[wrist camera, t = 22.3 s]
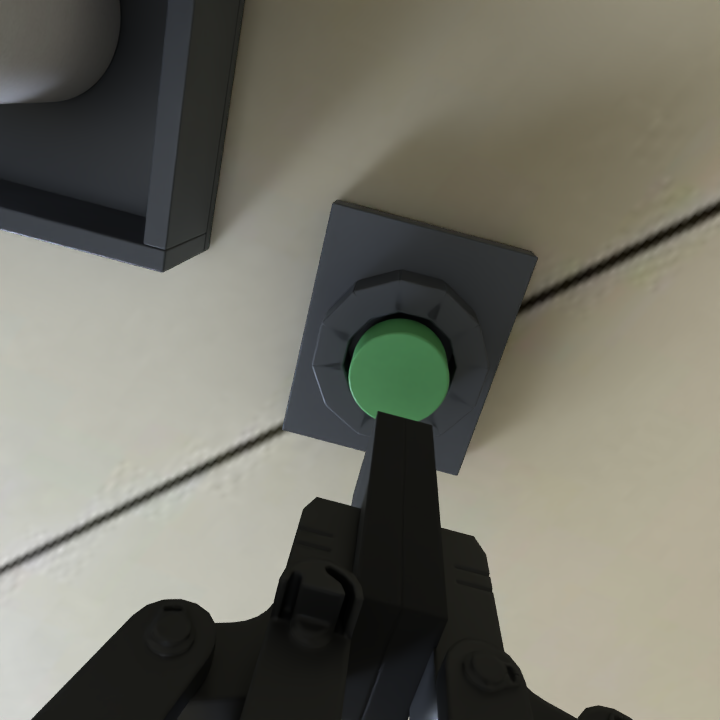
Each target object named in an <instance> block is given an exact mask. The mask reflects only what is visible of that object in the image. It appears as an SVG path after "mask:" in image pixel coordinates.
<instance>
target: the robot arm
mask: <svg viewBox="0 0 720 720" xmlns="http://www.w3.org/2000/svg"><path fill="white" fill-rule="evenodd" d="M489 574H490V573H489V568H488V562H487V557H486V554H485V552H484V551H483V549H482V548H481V546H480V545H479V543H478V542H477V540H476V539H475V537H474V536H471V535H467V534H463V533H459V532H455V531H451V530H448V529H444V528H441V524H440V512H439V500H438V487H437V475H436V463H435V450H434V438H433V426H432V425H430V424H426V423H422V422H418V421H415V420H411V419H407V418H403V417H399V416H396V415H392V414H388V413H384V412H380V411H377V415H376V418H375V422H374V425H373V429H372V432H371V435H370V439H369V442H368V446H367V449H366V453H365V456H364V460H363V463H362V466H361V470H360V473H359V477H358V480H357V484H356V487H355V490H354V494H353V499H352V505H351V506H349V505H345V504H342V503H338V502H334V501H330V500H326V499H322V498H319V497H316V498H315V499H314V500H313V501H312V502H311V503H309V504H308V505H307V506H306V507H305V508H304V509H303V512H302V515H301V518H300V522H299V525H298V529H297V532H296V535H295V539H294V542H293V545H292V549H291V552H290V556H289V559H288V562H287V566H286V569H285V570H284V572H283V573H282V575H281V577H280V579H279V583H278V587H277V591H276V595H275V599H274V603H273V604H272V605H271V607H270V608H269V609H268V610H267V611H265V612H264V613H262V614H261V615H259V616H258V617H255V618H252V619H249V620H247V621H240V622H231V623H214V621H213V619H212V617H211V616H210V614H209V613H208V612H207V611H206V610H204V609H203V608H202V607H200V606H199V605H198V604H196V603H192V602H189V601H186V600H182V599H166V600H161V601H158V602H155V603H152V604H149V605H146V606H145V607H143V608H142V609H141V610H139V611H138V612H137V613H135V614H134V615H133V616H132V617H131V618H130V619H129V620H128V621H127V622H126V623H125V624H124V625H123V626H122V627H121V628H120V629H119V630H118V631H117V632H116V633H115V634H114V635H113V636H112V637H111V638H110V639H109V640H108V641H107V642H106V643H105V644H104V645H103V646H102V647H101V648H100V649H99V650H98V652H97V653H96V654H95V655H94V656H93V657H92V658H91V659H90V660H89V661H88V662H87V663H86V664H85V665H84V666H83V667H82V668H81V669H80V670H79V671H78V672H77V673H76V674H75V675H74V676H73V677H72V678H71V679H70V680H69V681H68V682H67V683H66V684H65V685H64V686H63V687H62V689H61V690H60V691H59V692H58V693H57V694H56V695H55V696H54V697H53V698H52V699H51V700H50V701H49V702H48V703H47V704H46V705H45V706H44V707H43V708H42V709H41V710H40V711H39V712H38V713H37V714H36V715H35V716H34V717H33V718H32V719H31V720H408V717H409V720H632V719H631V718H630V717H628V716H626V715H624V714H622V713H620V712H619V711H617V710H615V709H612V708H608V707H603V706H599V705H598V706H593V707H589V708H586V709H585V710H584V711H583V712H582V713H581V714H580V716H579V717H578V719H577V718H575V717H573V716H571V715H570V714H568V713H566V712H564V711H562V710H561V709H559V708H557V707H555V706H553V705H552V704H550V703H548V702H546V701H545V700H543V699H542V698H540V697H539V696H537V695H536V694H534V693H533V692H532V691H531V690H529V689H528V688H527V686H526V682H525V680H524V677H523V675H522V673H521V670H520V668H519V667H518V666H517V665H516V663H515V662H514V661H513V660H512V658H511V657H510V656H509V655H508V654H507V653H505V652H504V648H503V642H502V637H501V632H500V626H499V621H498V616H497V610H496V605H495V600H494V594H493V593H492V584H491V578H490V577H489Z"/></svg>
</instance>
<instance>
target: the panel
mask: <svg viewBox="0 0 720 720" xmlns="http://www.w3.org/2000/svg"><path fill="white" fill-rule="evenodd" d="M537 259H538V257H537V256H536V255H535V254H534V253H532V252H531V251H528V250H524V249H520V248H517V247H513V246H509V245H505V244H502V243H498V242H494V241H490V240H487V239H483V238H479V237H475V236H472V235H468V234H464V233H460V232H457V231H453V230H449V229H445V228H442V227H438V226H434V225H430V224H427V223H423V222H419V221H415V220H412V219H408V218H404V217H400V216H397V215H393V214H389V213H385V212H382V211H378V210H374V209H370V208H367V207H363V206H359V205H355V204H352V203H348V202H344V201H340V200H336V201H335V202H333V204H332V208H331V212H330V217H329V221H328V226H327V230H326V235H325V239H324V243H323V248H322V252H321V257H320V261H319V266H318V270H317V275H316V279H315V284H314V288H313V293H312V297H311V302H310V306H309V311H308V315H307V320H306V324H305V329H304V333H303V338H302V342H301V347H300V351H299V356H298V360H297V365H296V369H295V374H294V378H293V383H292V387H291V392H290V396H289V401H288V405H287V410H286V414H285V419H284V423H283V428H282V429H283V430H285V431H289V432H293V433H296V434H300V435H304V436H308V437H312V438H315V439H319V440H323V441H327V442H331V443H334V444H338V445H342V446H346V447H350V448H354V449H357V450H361V451H365V452H366V449H367V446H368V442H369V439H370V435H371V432H372V429H373V425H374V422H375V419H374V418H373V417H371V416H370V415H368V414H367V413H366V412H364V411H363V410H362V409H361V408H360V407H359V405H358V404H357V403H356V401H355V399H354V398H353V396H352V393H351V391H350V387H349V380H348V377H349V368H350V364H351V360H352V357H353V353H354V350H355V347H356V345H357V343H358V341H359V339H360V338H361V336H362V335H363V334H364V333H365V332H366V331H367V330H368V329H370V328H371V327H372V326H374V325H376V324H378V323H380V322H382V321H385V320H389V319H398V318H401V319H409V320H414V321H417V322H419V323H421V324H423V325H425V326H427V327H428V328H430V329H431V330H432V331H433V332H434V333H435V334H436V335H437V336H438V338H439V339H440V341H441V342H442V344H443V346H444V349H445V352H446V357H447V363H448V369H449V388H448V391H447V394H446V397H445V399H444V400H443V402H442V404H441V405H440V406H439V407H438V408H437V409H436V410H435V411H434V412H433V413H432V414H431V415H429V416H428V417H426V418H424V419H422V420H420V421H418V422H422V423H426V424H430V425H432V426H433V438H434V450H435V463H436V470H437V471H441V472H445V473H449V474H452V475H458V473H459V470H460V468H461V465H462V462H463V460H464V457H465V454H466V451H467V449H468V446H469V443H470V441H471V438H472V435H473V432H474V430H475V427H476V424H477V422H478V419H479V416H480V414H481V411H482V408H483V405H484V403H485V400H486V397H487V395H488V392H489V389H490V386H491V384H492V381H493V378H494V376H495V373H496V370H497V368H498V365H499V362H500V359H501V357H502V354H503V351H504V349H505V346H506V343H507V341H508V338H509V335H510V332H511V330H512V327H513V324H514V322H515V319H516V316H517V313H518V311H519V308H520V305H521V303H522V300H523V297H524V295H525V292H526V289H527V286H528V284H529V281H530V278H531V276H532V273H533V270H534V267H535V265H536V262H537Z"/></svg>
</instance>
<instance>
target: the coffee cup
mask: <svg viewBox="0 0 720 720" xmlns="http://www.w3.org/2000/svg"><path fill="white" fill-rule="evenodd" d="M120 19H121V15H120V1H119V0H0V104H14V103H43V102H58V101H64V100H68V99H71V98H74V97H76V96H78V95H80V94H82V93H84V92H85V91H87V90H88V89H90V88H91V87H92V86H93V85H94V84H95V83H96V82H97V81H98V80H99V79H100V78H101V77H102V75H103V74H104V73H105V71H106V70H107V68H108V66H109V64H110V63H111V60H112V58H113V56H114V53H115V50H116V47H117V43H118V38H119V32H120Z"/></svg>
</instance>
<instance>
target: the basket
mask: <svg viewBox="0 0 720 720" xmlns="http://www.w3.org/2000/svg"><path fill="white" fill-rule="evenodd" d="M119 1H120V15H121V19H120V32H119V38H118V43H117V47H116V50H115V53H114V56H113V58H112V60H111V63H110V64H109V66H108V68H107V70H106V71H105V73H104V74H103V75H102V77H101V78H100V79H99V80H98V81H97V82H96V83H95V84H94V85H93V86H92V87H91V88H90V89H88V90H87V91H85V92H84V93H82V94H80V95H78V96H76V97H74V98H71V99H68V100H64V101H58V102H43V103H14V104H0V230H3V231H7V232H11V233H15V234H18V235H22V236H26V237H30V238H34V239H37V240H41V241H45V242H49V243H52V244H56V245H60V246H64V247H68V248H71V249H75V250H79V251H83V252H86V253H90V254H94V255H98V256H102V257H105V258H109V259H113V260H117V261H120V262H124V263H128V264H132V265H136V266H139V267H143V268H147V269H151V270H154V271H158V272H165V271H167V270H169V269H171V268H173V267H175V266H177V265H179V264H180V263H182V262H184V261H186V260H188V259H190V258H192V257H194V256H196V255H198V254H200V253H202V252H204V251H206V250H208V248H209V242H210V235H211V228H212V221H213V214H214V207H215V200H216V194H217V187H218V180H219V173H220V166H221V159H222V153H223V146H224V139H225V132H226V125H227V118H228V111H229V105H230V98H231V91H232V84H233V77H234V70H235V64H236V57H237V50H238V43H239V36H240V29H241V22H242V16H243V9H244V2H245V0H119Z"/></svg>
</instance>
